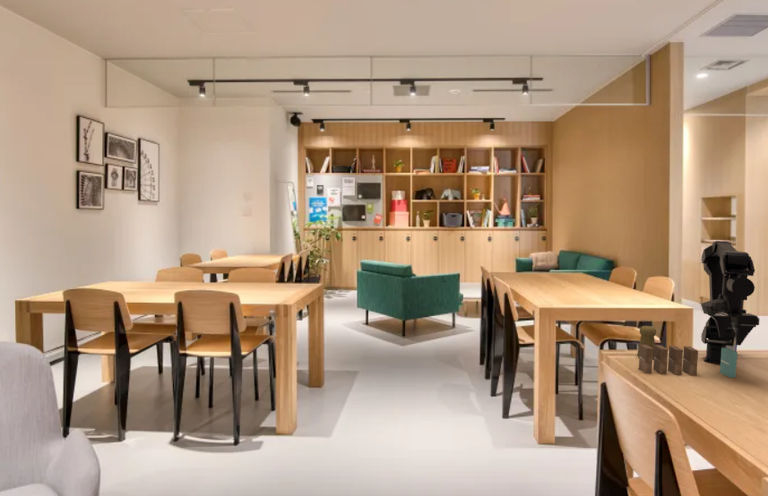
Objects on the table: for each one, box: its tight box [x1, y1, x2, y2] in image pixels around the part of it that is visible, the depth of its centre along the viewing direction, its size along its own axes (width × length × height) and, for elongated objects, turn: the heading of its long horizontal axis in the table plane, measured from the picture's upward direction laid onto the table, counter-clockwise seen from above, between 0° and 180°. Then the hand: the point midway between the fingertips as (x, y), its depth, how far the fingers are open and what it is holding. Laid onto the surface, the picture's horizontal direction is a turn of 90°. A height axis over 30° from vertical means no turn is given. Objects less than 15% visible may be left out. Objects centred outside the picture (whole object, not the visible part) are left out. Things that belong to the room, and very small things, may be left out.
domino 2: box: [652, 344, 669, 375], centre depth 167 cm, size 2×5×8 cm, turn 175°
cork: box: [636, 325, 657, 361], centre depth 183 cm, size 6×6×11 cm
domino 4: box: [682, 345, 699, 377], centre depth 166 cm, size 2×5×8 cm, turn 174°
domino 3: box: [667, 345, 684, 376], centre depth 166 cm, size 2×5×8 cm, turn 174°
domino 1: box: [638, 344, 653, 375], centre depth 167 cm, size 2×5×8 cm, turn 174°
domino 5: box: [719, 348, 738, 379], centre depth 165 cm, size 2×5×8 cm, turn 174°
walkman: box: [726, 322, 738, 353], centre depth 187 cm, size 8×3×12 cm, turn 141°
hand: (729, 341), depth 164 cm, fingers open, 9 cm apart
